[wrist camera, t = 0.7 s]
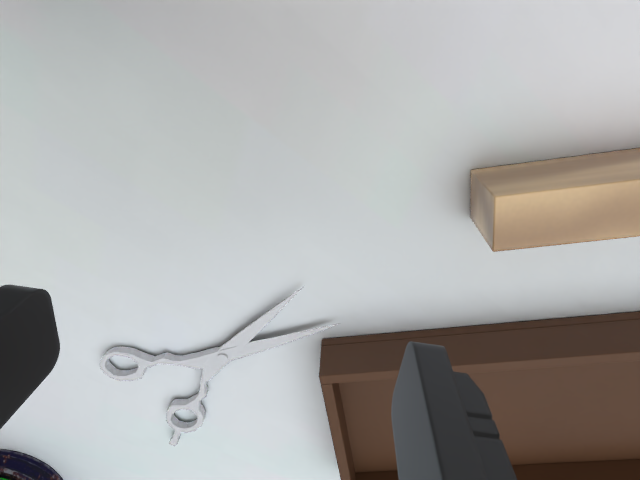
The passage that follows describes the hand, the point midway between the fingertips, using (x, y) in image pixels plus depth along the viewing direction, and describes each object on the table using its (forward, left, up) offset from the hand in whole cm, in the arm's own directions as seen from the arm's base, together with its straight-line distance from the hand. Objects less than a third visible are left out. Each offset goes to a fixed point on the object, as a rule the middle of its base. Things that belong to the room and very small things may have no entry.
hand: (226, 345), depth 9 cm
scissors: (+15, -9, -17) cm, 25 cm away
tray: (+22, +15, -17) cm, 32 cm away
